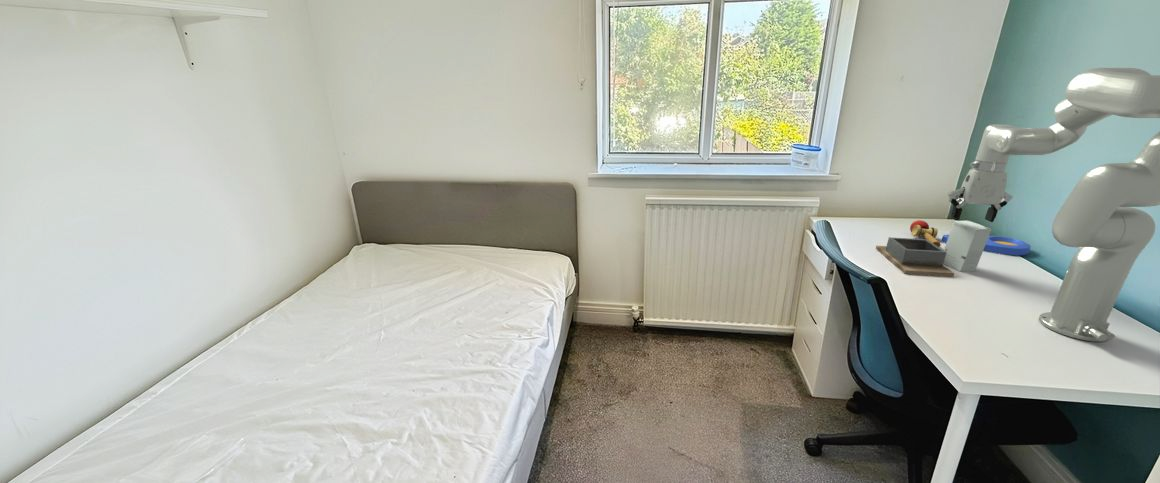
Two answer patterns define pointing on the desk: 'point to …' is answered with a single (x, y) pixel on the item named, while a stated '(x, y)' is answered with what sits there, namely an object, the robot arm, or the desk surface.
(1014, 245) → the location marker
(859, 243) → the desk surface
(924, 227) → the kendama
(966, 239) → the skincare box
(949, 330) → the desk surface
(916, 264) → the square box holder
